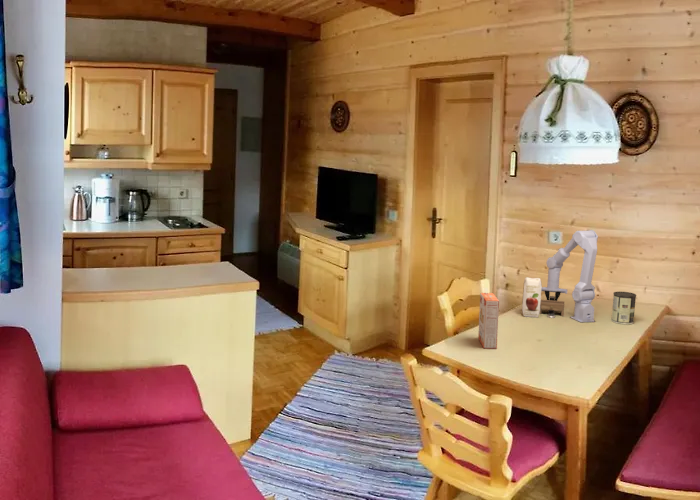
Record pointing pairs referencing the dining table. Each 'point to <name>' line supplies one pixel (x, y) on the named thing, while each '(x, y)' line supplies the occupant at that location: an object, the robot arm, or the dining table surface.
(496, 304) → the cracker box
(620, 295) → the coffee can
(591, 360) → the dining table surface
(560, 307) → the walnut u-shaped block
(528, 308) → the juice carton
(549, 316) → the steel token
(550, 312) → the brown-topped white block
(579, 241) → the robot arm
